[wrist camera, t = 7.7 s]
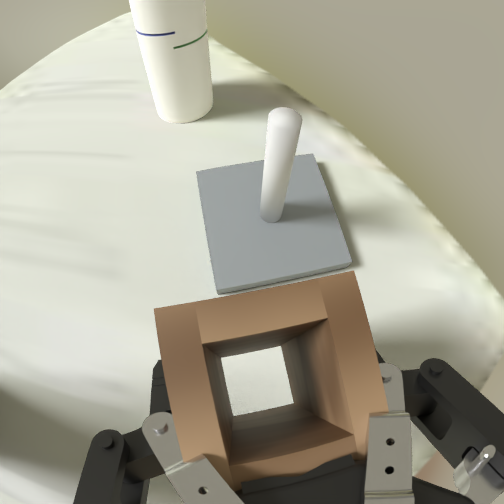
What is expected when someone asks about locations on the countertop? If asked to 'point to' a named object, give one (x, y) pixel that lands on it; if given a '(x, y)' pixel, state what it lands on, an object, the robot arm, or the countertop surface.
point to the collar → (298, 369)
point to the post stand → (271, 214)
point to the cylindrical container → (175, 56)
